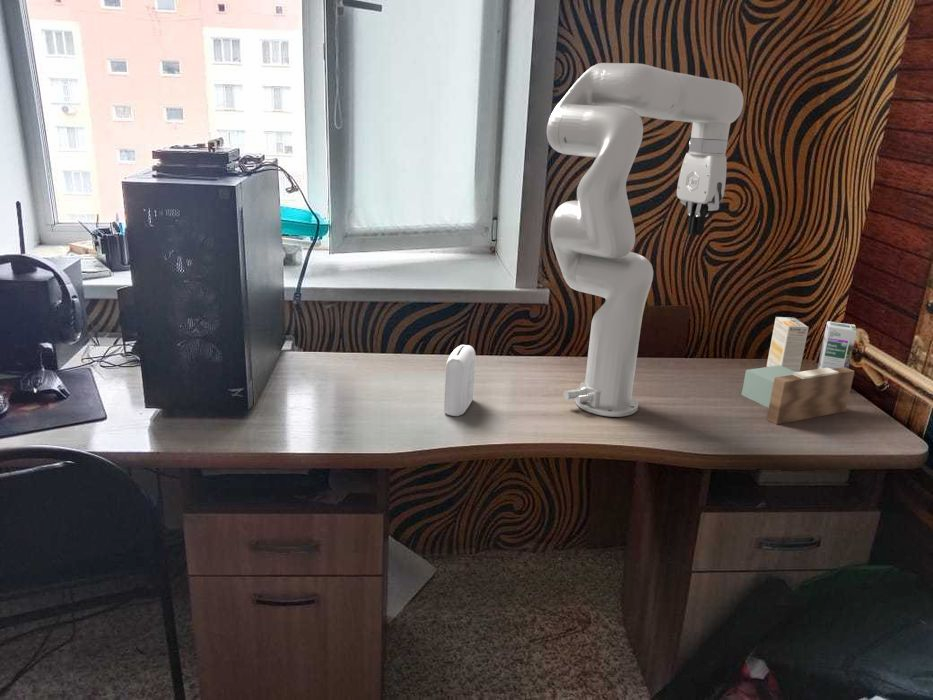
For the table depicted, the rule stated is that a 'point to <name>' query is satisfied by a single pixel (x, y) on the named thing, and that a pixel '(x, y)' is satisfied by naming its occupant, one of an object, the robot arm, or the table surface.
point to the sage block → (762, 383)
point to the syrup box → (837, 345)
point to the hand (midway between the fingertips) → (694, 234)
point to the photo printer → (459, 380)
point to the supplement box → (787, 343)
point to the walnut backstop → (809, 394)
